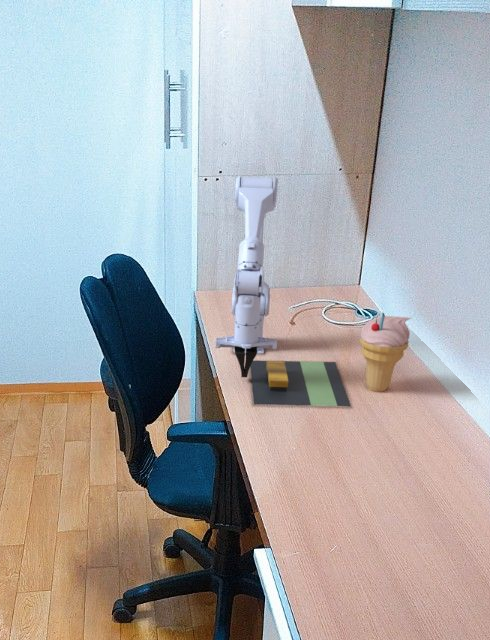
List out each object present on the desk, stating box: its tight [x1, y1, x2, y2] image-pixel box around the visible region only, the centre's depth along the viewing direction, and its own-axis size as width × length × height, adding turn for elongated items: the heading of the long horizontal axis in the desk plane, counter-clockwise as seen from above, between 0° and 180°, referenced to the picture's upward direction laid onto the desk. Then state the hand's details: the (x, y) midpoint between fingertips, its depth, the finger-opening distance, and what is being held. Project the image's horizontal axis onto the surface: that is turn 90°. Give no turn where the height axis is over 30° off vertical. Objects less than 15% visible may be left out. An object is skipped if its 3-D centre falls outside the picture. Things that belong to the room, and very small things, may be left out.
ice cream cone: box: [359, 312, 412, 393], centre depth 170 cm, size 11×11×20 cm
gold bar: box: [266, 360, 288, 391], centre depth 177 cm, size 12×4×3 cm, turn 178°
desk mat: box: [249, 360, 351, 407], centre depth 178 cm, size 26×22×1 cm
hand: (244, 375), depth 177 cm, fingers closed
